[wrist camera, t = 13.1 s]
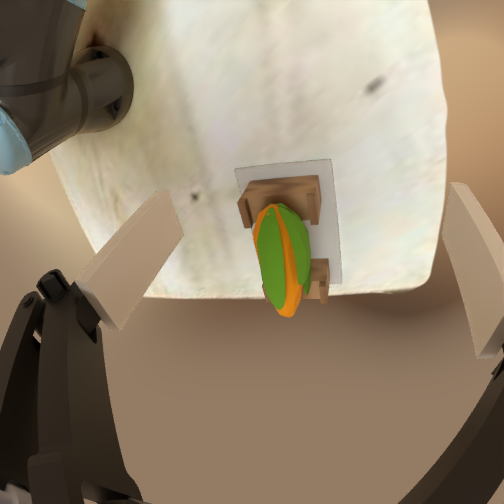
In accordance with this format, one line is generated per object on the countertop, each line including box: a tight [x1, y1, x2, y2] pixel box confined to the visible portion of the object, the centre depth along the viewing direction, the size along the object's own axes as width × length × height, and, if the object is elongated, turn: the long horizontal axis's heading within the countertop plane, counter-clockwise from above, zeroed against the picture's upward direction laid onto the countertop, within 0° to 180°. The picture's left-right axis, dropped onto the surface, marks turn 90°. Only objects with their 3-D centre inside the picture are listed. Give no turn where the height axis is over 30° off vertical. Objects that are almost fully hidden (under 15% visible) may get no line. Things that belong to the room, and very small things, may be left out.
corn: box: [253, 203, 311, 317], centre depth 41 cm, size 7×8×20 cm
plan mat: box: [234, 159, 342, 284], centre depth 47 cm, size 14×23×1 cm, turn 13°
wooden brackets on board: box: [237, 175, 330, 304], centre depth 45 cm, size 10×19×7 cm, turn 13°
